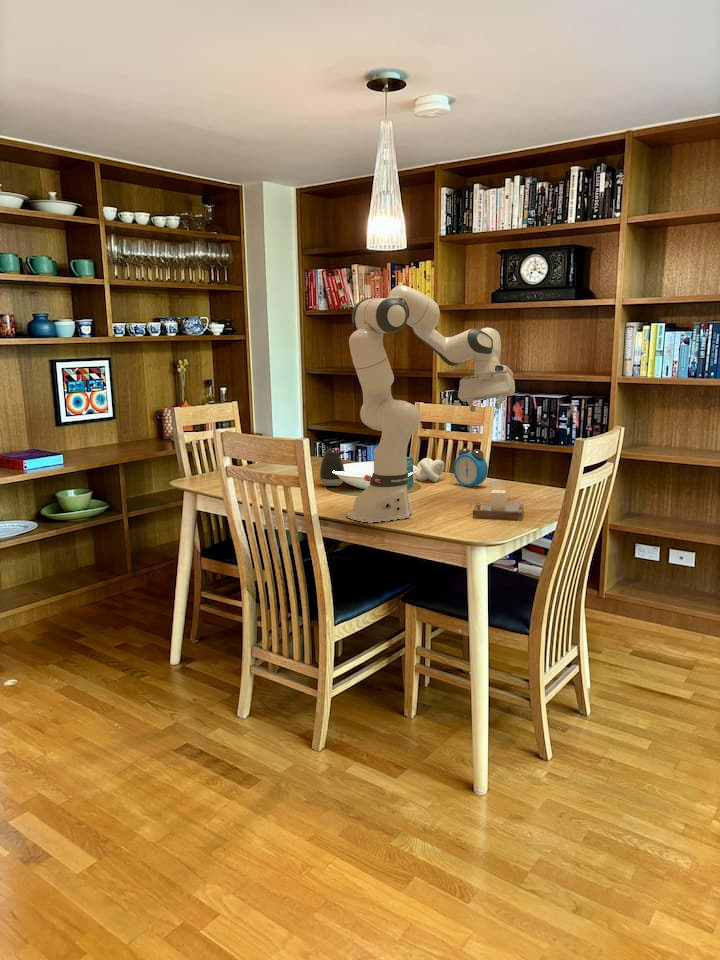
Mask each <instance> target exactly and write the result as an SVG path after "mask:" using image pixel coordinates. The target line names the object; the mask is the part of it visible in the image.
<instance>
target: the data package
mask: <svg viewBox="0 0 720 960" xmlns="http://www.w3.org/2000/svg"><path fill="white" fill-rule="evenodd" d="M410 472H413V474H412V475H411V476H409V477H408V484H407V489H410V488H412V487H413V485H414V458H413V457H411V456H407V473H410ZM409 487H410V488H409Z"/></svg>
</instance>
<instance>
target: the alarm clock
mask: <svg viewBox="0 0 720 960" xmlns="http://www.w3.org/2000/svg"><path fill="white" fill-rule="evenodd" d="M459 449H460V450H458V453H457V455H458V456H457V457H456V458H455V460H454V462H453V463H454V464H453V467H452V468H453V469H452V470H453V475H454V477H455V479H456V481H457V482H458V483H459V486H460V485H461V486H463V487H469V488H470V487H472V488H475V486H477V485H481V484H482V483H484V482H485V481H486V479H487V477H488V473H489V467H488V463H487V461H486V459H485V454H484V452H483V451H482V450H481V449H476V448H475V449H473V450H472V449H470V448H468V447H461V448H459Z"/></svg>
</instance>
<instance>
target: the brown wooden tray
mask: <svg viewBox="0 0 720 960" xmlns="http://www.w3.org/2000/svg"><path fill="white" fill-rule="evenodd" d="M524 507H525V506H524V504H521V503H520V506H519V510H518V511H491V510H482V509H481V502H476V504H475V506H474V508H473V509H472V519H480V520H499V521H500V520H501V521H502V520H503V521H520V522H521V521H522V520H523V517H524V510H525V509H524Z"/></svg>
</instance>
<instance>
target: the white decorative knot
mask: <svg viewBox="0 0 720 960" xmlns="http://www.w3.org/2000/svg"><path fill="white" fill-rule="evenodd" d="M416 467H417V468H418V470H417V472H416V473H415V478H416V479H417V480H418V481H421V482H423V481H424V482H425V481H426V480H428V479H429V480H430V481H431V482H433V483H437V482H438V481H439V479H440V476H441V475H442V474H443V473H444V470H445V463H444V461H443V460H441V459H435V460H433V459H432V458H430V457H425V458H422V459H421V460H420V461H419V462H418V464H417V465H416Z"/></svg>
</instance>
